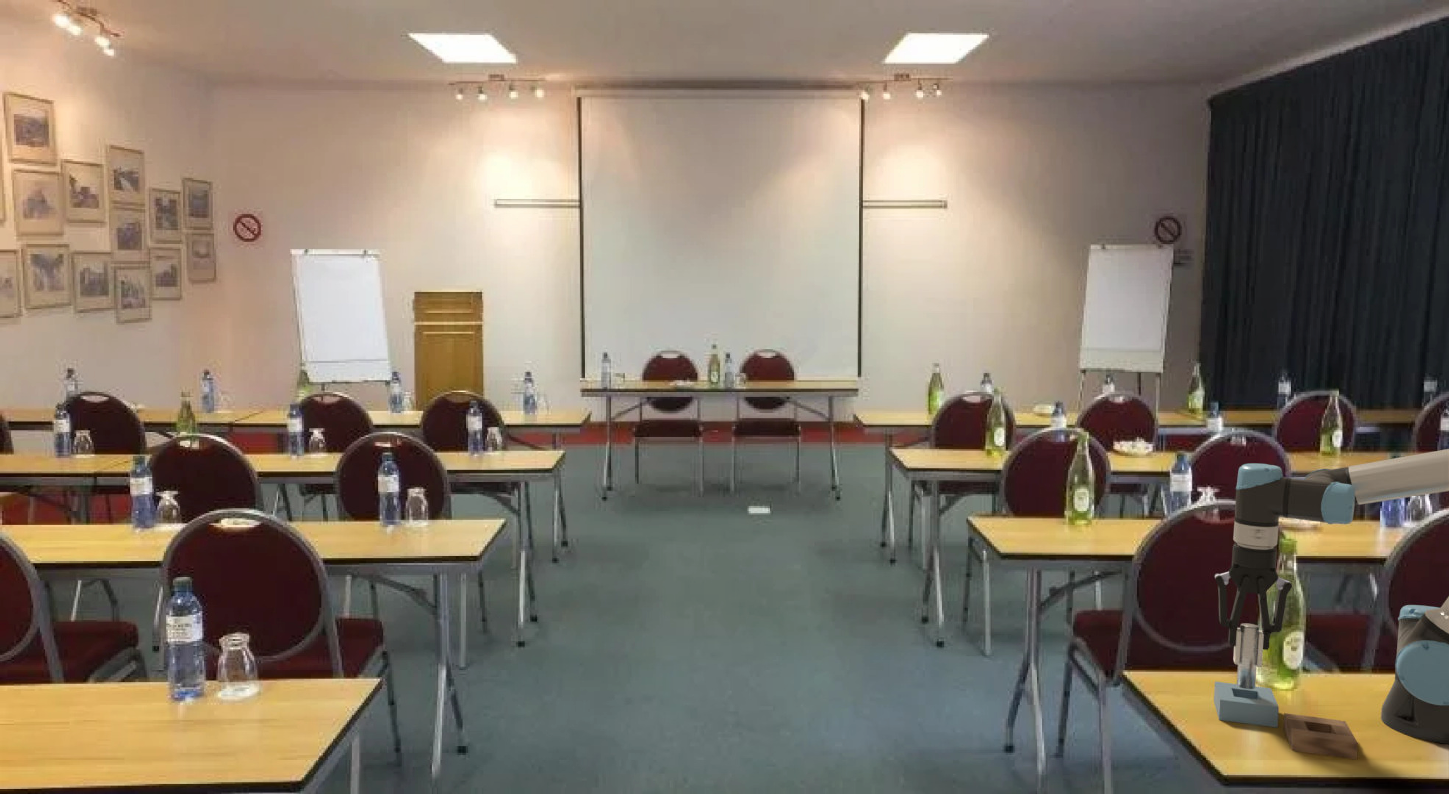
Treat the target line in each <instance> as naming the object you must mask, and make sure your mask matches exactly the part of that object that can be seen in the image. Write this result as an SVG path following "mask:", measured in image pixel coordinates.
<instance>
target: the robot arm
mask: <svg viewBox="0 0 1449 794" xmlns="http://www.w3.org/2000/svg"><path fill="white" fill-rule="evenodd" d="M1237 472H1238V473H1237V482H1236V487H1235V490H1236V491H1235V506H1234V507H1235V508H1234V522H1233V523H1234V525H1233V537H1232V539H1233V541H1234V543H1233V545H1232V552H1231V553H1232V554H1231V556H1232V557H1231V566H1230V567H1229V568H1228V571H1226V572H1221V573H1215V574H1214V579H1215V581H1216V584H1217V591H1218V594H1217V595H1218V620H1219V623H1220V625H1221V626H1222V627H1226V628H1227V629H1228V644H1229V646H1230V647H1233V659H1232V660H1233V663H1234V664H1235V665H1237V666H1238V665H1239V662H1240V646H1241V630H1240V627H1239V623H1240V618H1241V615H1242V612H1243V607H1244V604H1245V603H1244V602H1245V600H1246V597H1247V594H1251V593H1253V594H1257V597H1258V605H1259V615H1260V625H1261V629H1259V635H1258V651H1257V667H1256V668H1262V666H1263V664H1262V663H1263V651H1264V650H1267V651H1268V650H1269V649H1270V637H1271V635H1272V633H1281V631H1282V627H1283V622H1284V621H1283V620H1284V616H1285V608H1286V603H1287V598H1288V597H1287V596H1288V594H1289V593H1290V591H1291V589H1292V588H1293V587H1292V586H1293V585H1292V583H1291V581H1290V580H1289V579H1284V578H1282V577H1279V575H1278V572H1277V556H1278V555H1277V554H1278V549H1277V548H1276V546H1277V545H1278V539H1279V537H1278V536H1279V535H1278V534H1279V525H1280V524H1279V523H1280V521H1279V520H1280V518H1284V519H1294V520H1295V519H1296V520H1301V521H1310V522H1318V523H1325V524H1329V525H1333V524H1336V525H1337V524H1339V525H1349V524H1351V523H1352V522H1353V520H1354V519H1353V518H1354V512H1355V506H1359V505H1364V504H1366V505H1367V504H1372V503H1378V502H1385V501H1391V500H1397V499H1399V500H1400V499H1404V498H1411V497H1416V496H1417V497H1418V496H1425V495H1429V494H1430V495H1431V494H1437V493H1438V494H1439V493H1443V492H1449V448H1447V449H1442V450H1437V451H1429V452H1424V453H1417V454H1413V455H1407V456H1402V457H1396V458H1389V459H1385V460H1378V461H1372V462H1366V463H1361V464H1356V465H1349V466H1346V467H1339V468H1332V469H1330V468H1322V469H1321V468H1320V469H1316V470H1313V471H1312V472H1310V473H1308V474H1307V475H1306V476H1305V477H1304V479H1300V478H1289V477H1285V476H1284V475H1283V470H1282V468H1281V467H1280V466H1278V465H1274V464H1267V463H1244V464H1242V465H1241V466H1239V468H1238V471H1237ZM1230 579H1231V580H1232V581H1233V583H1234V585H1235V586H1236V587H1237V588H1236V593H1235V594H1236V595H1235V599H1234V601H1233V607H1232V611H1231V615H1230V618H1228V601H1227V599H1228V596H1227V595H1228V594H1227V587H1226V586H1227V585H1228V584H1229V580H1230ZM1275 583H1276V589H1278V590H1277V594H1276V600H1275V605H1274V613H1273V618H1272V619H1273V620H1272V623H1270V622H1271V621H1270V616H1269V615H1270V614H1269V607H1268V606H1269V605H1268V594H1267V592H1268V590H1269V589H1271V588H1272V587H1273V585H1274V584H1275ZM1397 621H1398V630H1397V631H1398V632H1397V633H1398V634H1397V646H1396V647H1397V648H1396V658H1395V661H1394V663H1395V664H1394V667H1395V673H1394V682H1393V684H1392V686H1391V687H1390V689H1389V691H1388V694H1387V696H1386V698H1385V700H1384V702H1383V703H1382V707H1381V712H1380V719H1381V721H1382V723H1384V725H1386V726H1387V727H1389V728H1390V729H1393V730H1394V731H1396V732H1399V733H1401V734H1403V735H1406V736H1409V737H1413V738H1416V739H1420V740H1423V741H1427V742H1432V743H1440V744H1449V596H1448V597H1447V598H1446V600H1445V601H1444V602H1443V603H1442V605H1441V607H1437V606H1430V605H1429V606H1428V605H1420V604H1419V605H1418V604H1407V605H1404V606H1402V607H1401V609H1400V611H1399V616H1398V617H1397Z"/></svg>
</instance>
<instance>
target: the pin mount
mask: <svg viewBox="0 0 1449 794" xmlns="http://www.w3.org/2000/svg"><path fill="white" fill-rule="evenodd" d="M1283 713H1284V714H1283V715H1284V716H1283V731H1284V734H1285V735H1286V736H1285V737H1286V739H1287V740H1288V743H1289V745H1290V747H1291V750H1292V751H1295V752H1302V753H1310V754H1314V755H1315V754H1317V755H1322V756H1323V755H1324V756H1331V757H1337V758H1345V759H1351V760H1357V758H1358V757H1357V756H1358V746H1359V745H1358V743H1359V742H1358V741H1357V739H1356V738H1355V736H1354V734H1353V733H1352V730H1351V729H1350V727H1349V725H1348V723H1347V722H1346V720H1340V719H1334V718H1333V719H1332V718H1325V717H1316V716H1311V715H1310V716H1309V715H1302V714H1293V713H1286V712H1283Z"/></svg>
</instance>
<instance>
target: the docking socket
mask: <svg viewBox="0 0 1449 794" xmlns="http://www.w3.org/2000/svg"><path fill="white" fill-rule="evenodd" d="M1213 693H1214V694H1213V703H1214V706H1215V709H1216V710H1215V711H1216V713H1217V714H1216V715H1217V717H1218V720H1219V721H1225V722H1231V723H1232V722H1233V723H1239V724H1246V725H1256V726H1261V727H1269V728H1278V723H1279V711H1280V710H1279V709H1280V706H1279V704H1278V702H1277V700H1276V698H1275V695H1274V692H1273V690H1272V688H1271V687H1264V686H1256V685H1255V688H1254V689H1244V688H1241V687H1238V686H1237V683H1231V682H1225V681H1224V682H1222V681H1214V692H1213Z"/></svg>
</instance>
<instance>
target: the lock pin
mask: <svg viewBox="0 0 1449 794" xmlns="http://www.w3.org/2000/svg"><path fill="white" fill-rule="evenodd" d="M1239 628H1240V630H1241V646H1240V662H1239V665H1237V675H1236V677H1237V678H1236V684H1237V686H1238V687H1241V688H1244V689H1254V688H1255V686H1256V681H1257V680H1256V679H1257V668H1258V667H1257V651H1258V635H1259V630H1260V627H1259V625H1257V624H1254V623H1248V622H1247V623H1246V622H1245V623H1240V626H1239Z"/></svg>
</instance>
